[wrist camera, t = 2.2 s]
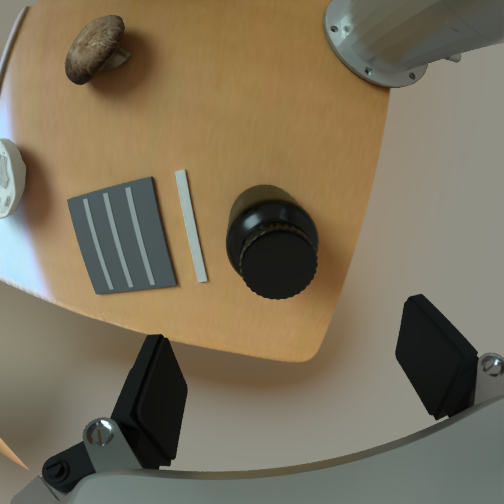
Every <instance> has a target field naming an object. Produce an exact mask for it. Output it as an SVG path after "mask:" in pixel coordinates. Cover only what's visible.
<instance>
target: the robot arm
mask: <svg viewBox="0 0 504 504" xmlns="http://www.w3.org/2000/svg"><path fill="white" fill-rule="evenodd" d="M324 30H325V35H326V37H327V40H328V42H329V45H330V46H331V48H332V49H333V51H334V53H335V54H336V55H337V57H338V58H339V59H340V60H341V61H342V63H344V64H345V65H346V66H347V67H348V68H349V69H350V70H351V71H352V72H354V73H355V74H357V75H358V76H359V77H361V78H363V79H365V80H367V81H368V82H370V83H373V84H376V85H379V86H383V87H388V88H400V87H405V86H408V85H411V84H414V83H415V82H417V81H418V80H419V79H420V78H421V77H422V76H423V75H424V73H425V71H426V69H427V66H428V63H431V62H434V61H437V60H440V59H443V58H444V59H446V60H450V61H453V62H459V61H460V60H461V53H463V52H467V51H470V50H474V49H478V48H482V47H487V46H490V45H495V44H500V43H504V0H332V1H331V2H330V4H329V5H328V7H327V9H326V12H325V15H324ZM331 30H332V31H334V32H332V31H331ZM365 71H366V72H367V74H366V73H365ZM477 354H478V352H477V351H476V349H475V348H474V347H473V346H472V345H471V344H470V343H469V342H468V341H467V339H466V338H465V337H464V336H463V335H462V334H461V333H460V332H459V331H458V330H457V329H456V328H455V327H454V326H453V324H451V322H450V321H449V320H448V319H447V318H446V317H445V316H444V315H443V314H442V313H441V312H440V311H439V310H438V309H437V308H436V307H435V306H434V305H433V304H432V303H431V302H430V301H429V300H428V299H427V298H426V297H425V296H424V295H422V294H419V295H415V296H410V297H409V298H408V299H407V301H406V302H405V303H404V308H403V314H402V320H401V326H400V331H399V336H398V341H397V346H396V351H395V355H396V359H397V361H398V362H399V364H400V365H401V367H402V369H403V370H404V372H405V374H406V375H407V377H408V379H409V380H410V382H411V384H412V385H413V387H414V389H415V390H416V392H417V394H418V395H419V397H420V399H421V401H422V403H423V404H424V406H425V408H426V410H427V411H428V413H429V414H430V415H433V416H434V418H435V420H439V419H441V418H443V417H445V416H447V415H448V417H449V418H448V419H446V420H444V421H442V422H439V423H437V424H435V425H433V426H431V427H428V428H426V429H423V430H421V431H419V432H416V433H414V434H411V435H409V436H406V437H403V438H401V439H398V440H395V441H392V442H389V443H386V444H384V445H380V446H377V447H374V448H371V449H367V450H364V451H360V452H357V453H353V454H349V455H345V456H341V457H337V458H332V459H328V460H323V461H318V462H313V463H307V464H301V465H296V466H288V467H281V468H271V469H262V470H248V471H224V472H198V471H173V470H159V467H160V466H170V465H171V460H174V459H175V458H176V453H177V447H178V441H179V435H180V429H181V424H182V418H183V413H184V407H185V402H186V397H187V390H188V389H187V384H186V382H185V380H184V377H183V375H182V372H181V370H180V367H179V365H178V362H177V360H176V357H175V355H174V352H173V350H172V348H171V345H170V342H169V340H168V338H164V336H163V335H162V334H156V335H147V337H146V339H145V341H144V343H143V346H142V348H141V350H140V352H139V354H138V357H137V359H136V361H135V364H134V366H133V368H132V369H131V370H130V372H129V374H128V376H127V379H126V381H125V383H124V386H123V388H122V391H121V393H120V395H119V398H118V400H117V403H116V405H115V407H114V410H113V412H112V415H111V418H106V417H105V418H104V417H102V418H97V419H94V420H93V421H91V422H89V424H88V425H87V426H86V427H85V429H84V431H83V441H82V442H80V443H79V444H77V445H75V446H73V447H71V448H69V449H67V450H65V451H63V452H61V453H59V454H57V455H55V456H52V457H51V458H49V459H48V460H47V461H46V462H45V463H44V466H43V468H42V475H43V476H42V477H40V476H37V477H36V478H34V479H33V480H32V481H31V482H30V483H29V484H28V485H27V486H26V487H24V488H23V489H22V490H21V491H20V492H19V493H18V494H16V495H15V496H14V497H13V499H12V500H11V504H504V358H503V357H502V356H501V355H499V354H496V353H486V354H484V355H482V356H481V357H480V358H478V357H477Z"/></svg>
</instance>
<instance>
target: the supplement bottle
mask: <svg viewBox="0 0 504 504" xmlns="http://www.w3.org/2000/svg"><path fill="white" fill-rule="evenodd" d="M318 243H319V240H318V232H317V229H316V226H315V224H314V222H313V220H312V218H311V217H310V215H309V214H308V213H307V212H306V211H305V210H304V209H303V208H302V207H301V206H300V205H299V204H298V203H297V202H296V201H295V200H294V199H293V198H292V197H291V196H290V195H289V194H288V193H287V192H285V191H284V190H282V189H281V188H278V187H276V186H272V185H257V186H254V187H251V188H249V189H247V190H245V191H244V192H243V193H241V194H240V195H239V196H238V198H237V199H236V200H235V202H234V204H233V206H232V208H231V212H230V217H229V223H228V229H227V235H226V251H227V256H228V259H229V261H230V263H231V265H232V267H233V268H234V270H235V271H236V272H237V273H238V274H239V275H240V276H241V277H242V278H243V280H244V281H245V282H246V285H247V286H248V287H249V288H250V289H251V290H252V291H253V292H255V293H256V294H257V295H259V296H262V297H264V298H269V299H277V300H280V299H287V298H288V297H293V296H294V295H296V294H299V293H300V292H301V291H302V290H304V289H305V288H306V286H308V285H309V284H310V282H311V280H312V279H313V278H314V274H315V273H316V268H317V265H318V264H317V258H318V257H317V251H318Z"/></svg>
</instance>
